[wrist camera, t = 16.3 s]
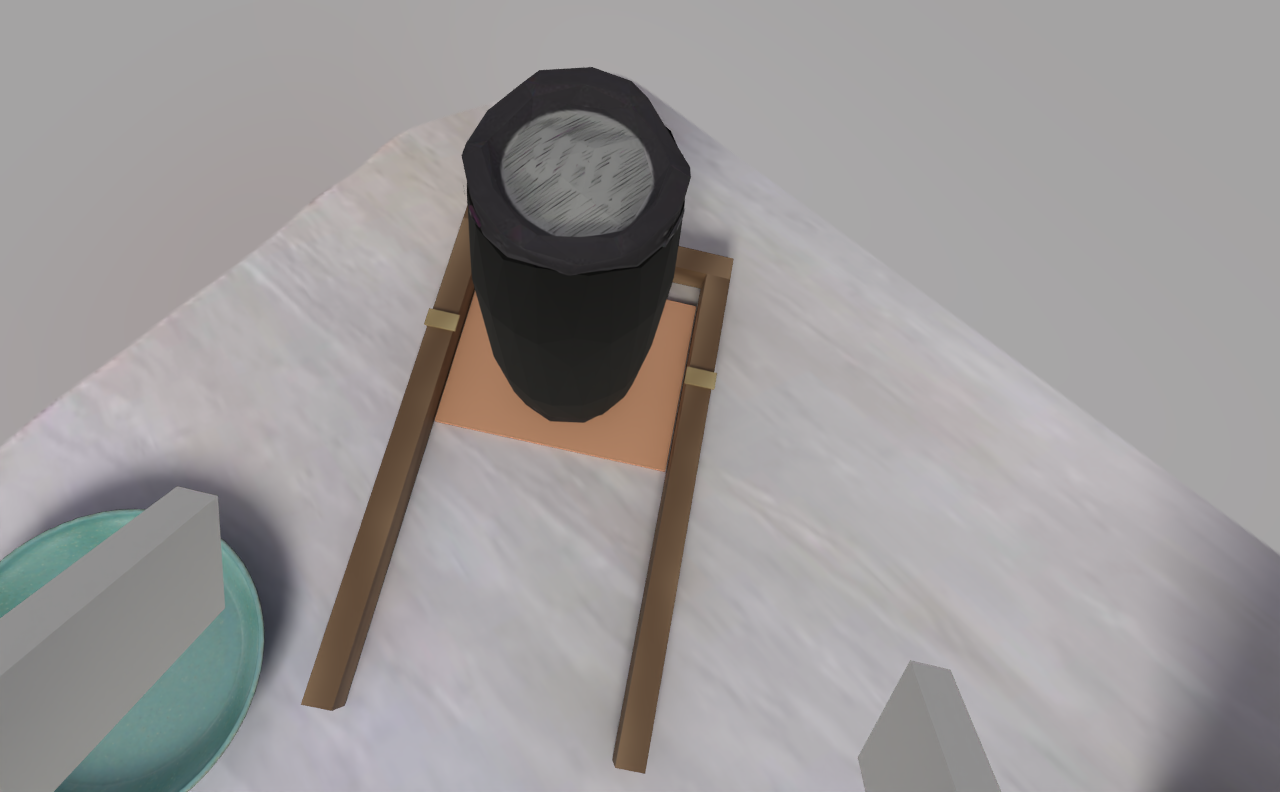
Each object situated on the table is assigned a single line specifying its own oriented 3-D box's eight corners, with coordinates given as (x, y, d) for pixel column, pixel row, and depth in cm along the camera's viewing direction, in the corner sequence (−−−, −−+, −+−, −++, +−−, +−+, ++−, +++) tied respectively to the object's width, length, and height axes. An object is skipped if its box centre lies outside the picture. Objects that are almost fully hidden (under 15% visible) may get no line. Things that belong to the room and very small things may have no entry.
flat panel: (695, 308, 43) (696, 306, 43) (664, 471, 40) (665, 470, 40) (485, 260, 43) (485, 258, 43) (435, 421, 39) (434, 420, 39)
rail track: (728, 274, 44) (736, 257, 42) (643, 765, 35) (648, 775, 33) (471, 215, 44) (467, 195, 42) (312, 699, 34) (296, 704, 32)
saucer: (167, 460, 37) (139, 449, 35) (345, 651, 35) (329, 653, 33) (-98, 672, 33) (-153, 677, 30) (88, 904, 31) (46, 929, 28)
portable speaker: (491, 430, 39) (423, 262, 21) (512, 287, 42) (470, 30, 24) (636, 444, 40) (696, 294, 21) (647, 302, 43) (709, 63, 24)
